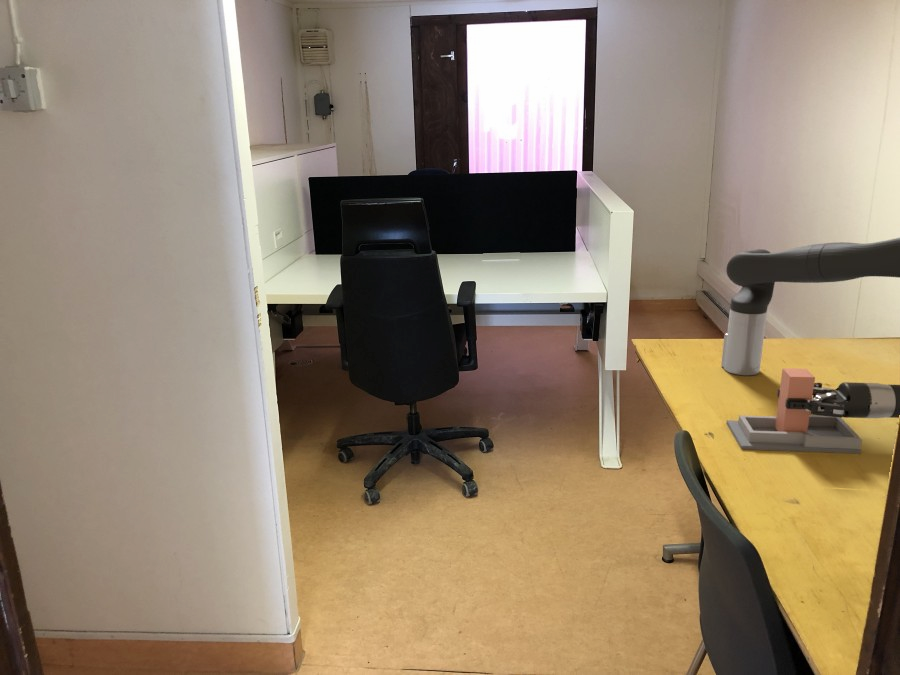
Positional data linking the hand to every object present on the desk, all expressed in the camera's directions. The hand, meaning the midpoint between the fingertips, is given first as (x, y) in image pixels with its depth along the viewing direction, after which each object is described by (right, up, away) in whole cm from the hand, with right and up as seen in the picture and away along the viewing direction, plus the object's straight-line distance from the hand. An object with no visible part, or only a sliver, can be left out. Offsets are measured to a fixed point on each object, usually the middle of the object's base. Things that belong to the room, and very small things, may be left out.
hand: (782, 398), depth 157 cm
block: (+3, -8, +2) cm, 9 cm away
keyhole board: (+3, -9, +3) cm, 10 cm away
